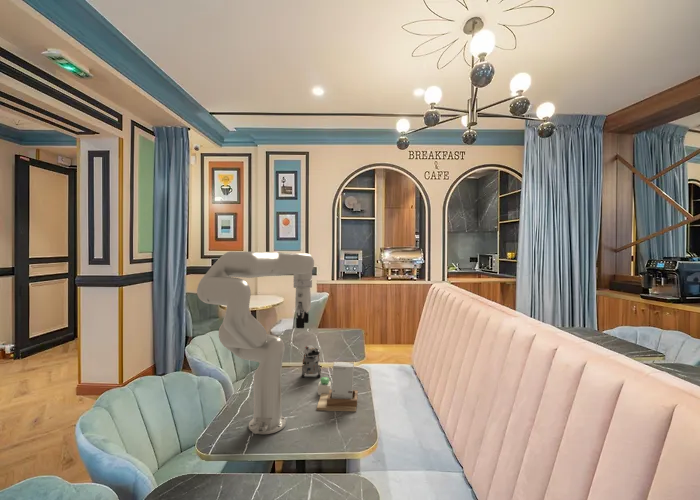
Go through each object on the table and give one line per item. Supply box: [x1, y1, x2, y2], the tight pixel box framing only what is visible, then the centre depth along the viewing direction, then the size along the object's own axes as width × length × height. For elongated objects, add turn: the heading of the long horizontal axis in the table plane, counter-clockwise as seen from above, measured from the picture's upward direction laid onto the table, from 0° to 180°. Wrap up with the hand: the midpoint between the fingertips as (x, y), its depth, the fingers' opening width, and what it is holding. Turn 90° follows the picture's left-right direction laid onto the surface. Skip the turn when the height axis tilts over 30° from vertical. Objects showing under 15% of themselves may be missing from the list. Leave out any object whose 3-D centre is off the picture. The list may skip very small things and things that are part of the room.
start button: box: [320, 376, 330, 384], centre depth 150 cm, size 4×4×5 cm
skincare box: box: [331, 361, 355, 399], centre depth 140 cm, size 8×6×15 cm
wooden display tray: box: [316, 388, 359, 412], centre depth 140 cm, size 13×15×4 cm
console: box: [317, 380, 332, 396], centre depth 150 cm, size 5×5×4 cm
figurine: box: [301, 344, 322, 378], centre depth 167 cm, size 9×12×15 cm
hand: (302, 325), depth 144 cm, fingers open, 9 cm apart
